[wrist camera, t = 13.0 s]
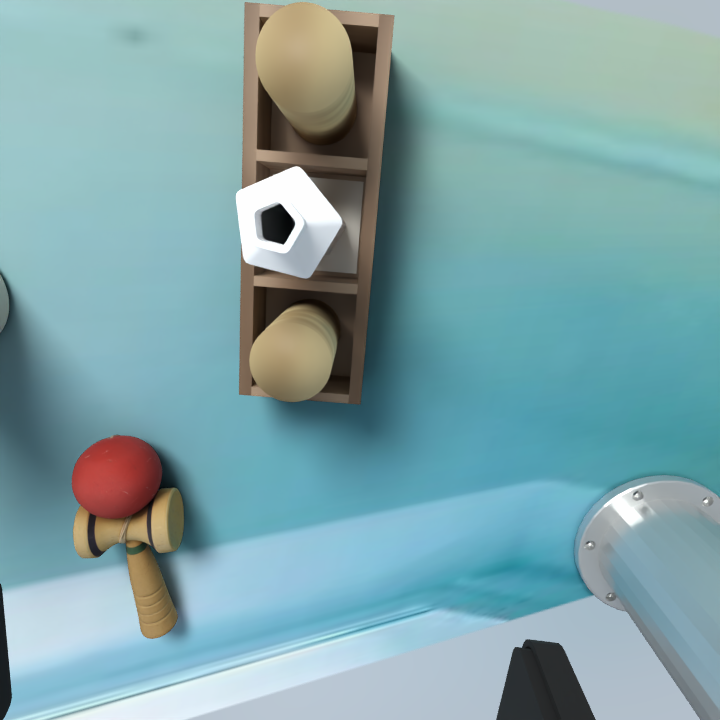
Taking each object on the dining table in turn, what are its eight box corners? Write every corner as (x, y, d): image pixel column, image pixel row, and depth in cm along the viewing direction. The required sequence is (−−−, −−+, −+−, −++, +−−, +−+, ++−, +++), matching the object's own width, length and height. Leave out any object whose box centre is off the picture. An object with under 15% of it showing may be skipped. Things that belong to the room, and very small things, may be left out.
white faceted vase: (353, 259, 32) (342, 283, 18) (289, 263, 33) (228, 289, 18) (349, 188, 31) (333, 153, 17) (283, 192, 31) (211, 161, 17)
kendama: (222, 594, 43) (180, 423, 36) (186, 661, 37) (128, 474, 30) (146, 584, 45) (91, 419, 38) (100, 648, 39) (26, 467, 32)
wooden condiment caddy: (390, 49, 30) (400, -36, 20) (361, 381, 36) (359, 436, 26) (264, 38, 30) (215, -52, 20) (256, 372, 36) (215, 424, 26)
